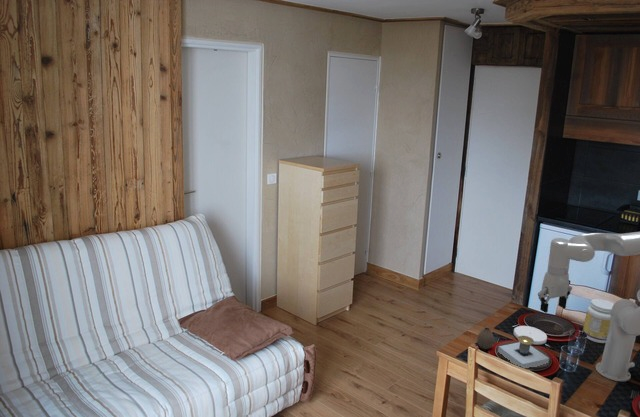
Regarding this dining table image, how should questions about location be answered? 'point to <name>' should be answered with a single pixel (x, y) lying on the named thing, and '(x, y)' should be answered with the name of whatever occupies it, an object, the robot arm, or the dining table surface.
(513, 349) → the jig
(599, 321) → the supplement tub
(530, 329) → the plastic lid
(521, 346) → the gold lidded jar
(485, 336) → the vase
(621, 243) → the robot arm
